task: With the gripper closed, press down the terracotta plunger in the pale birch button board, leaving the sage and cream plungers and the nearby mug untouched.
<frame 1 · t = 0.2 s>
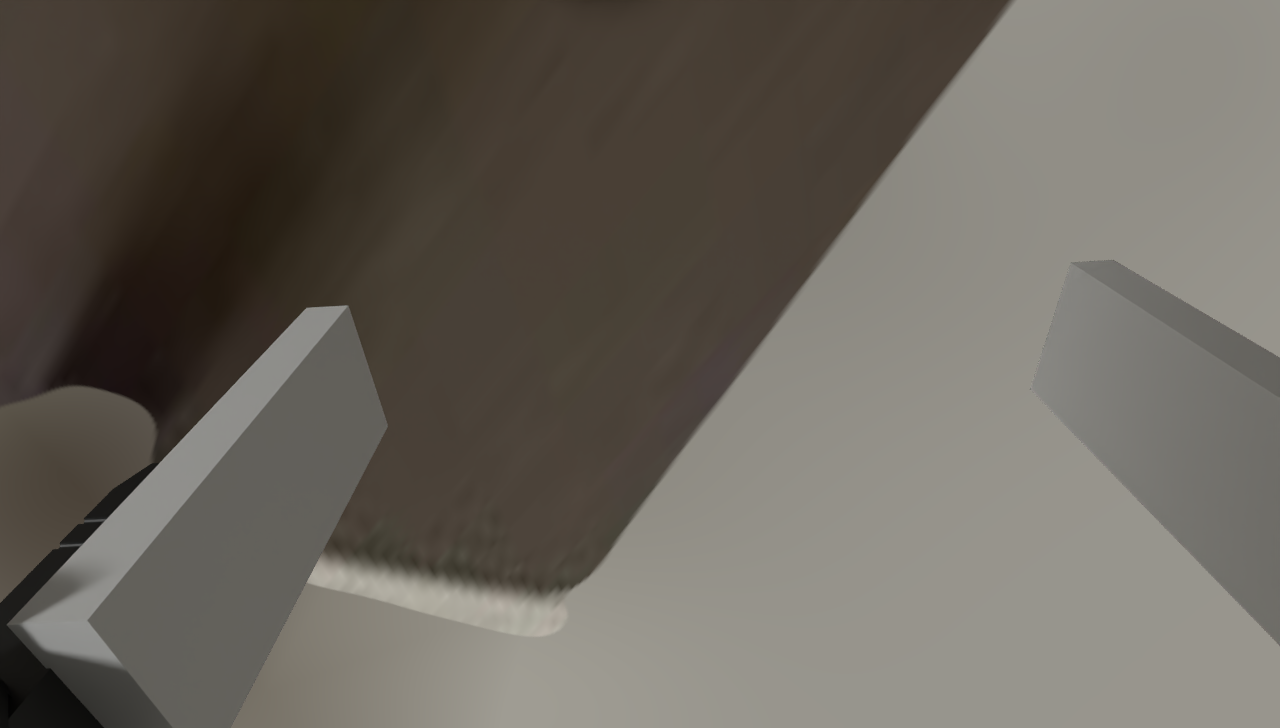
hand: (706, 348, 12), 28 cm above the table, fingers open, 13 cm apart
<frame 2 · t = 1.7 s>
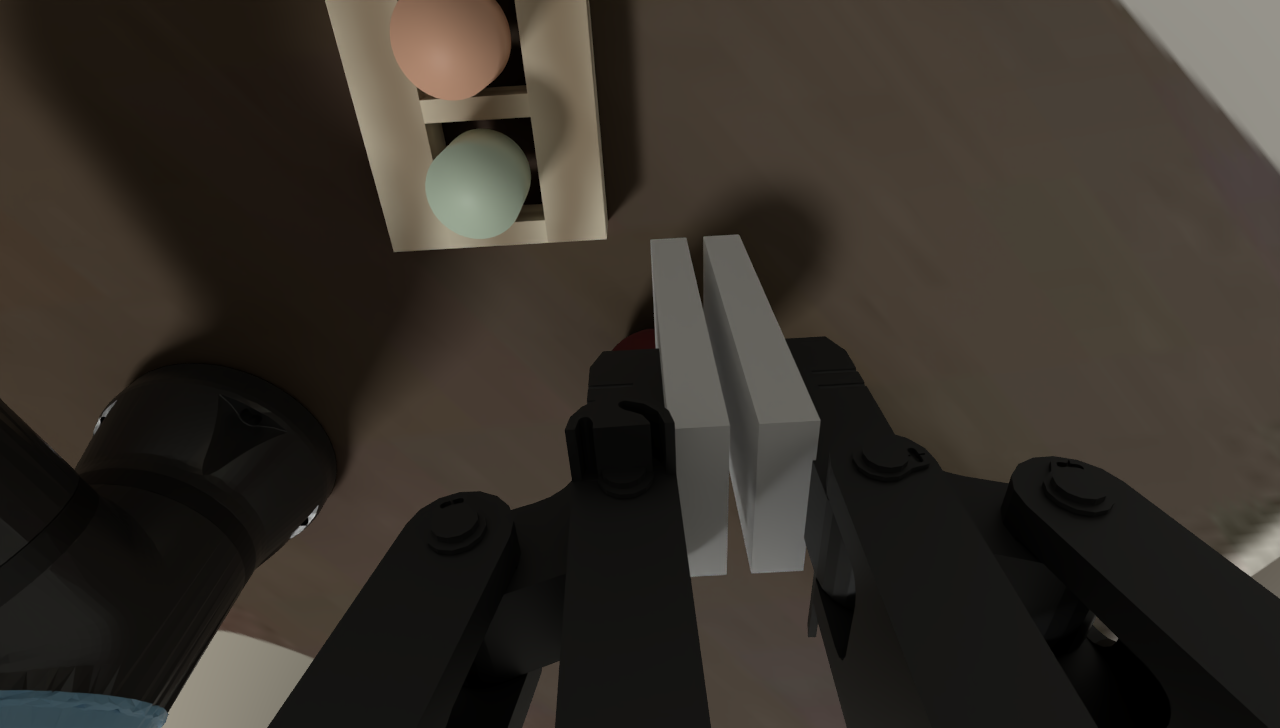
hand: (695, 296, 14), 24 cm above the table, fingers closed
mug: (662, 339, 43), on the table
button terracotta: (454, 39, 29), point 5 cm above the table, slide at 0.0 cm
button board: (475, 31, 33), on the table
button sage: (480, 183, 32), point 5 cm above the table, slide at 0.0 cm
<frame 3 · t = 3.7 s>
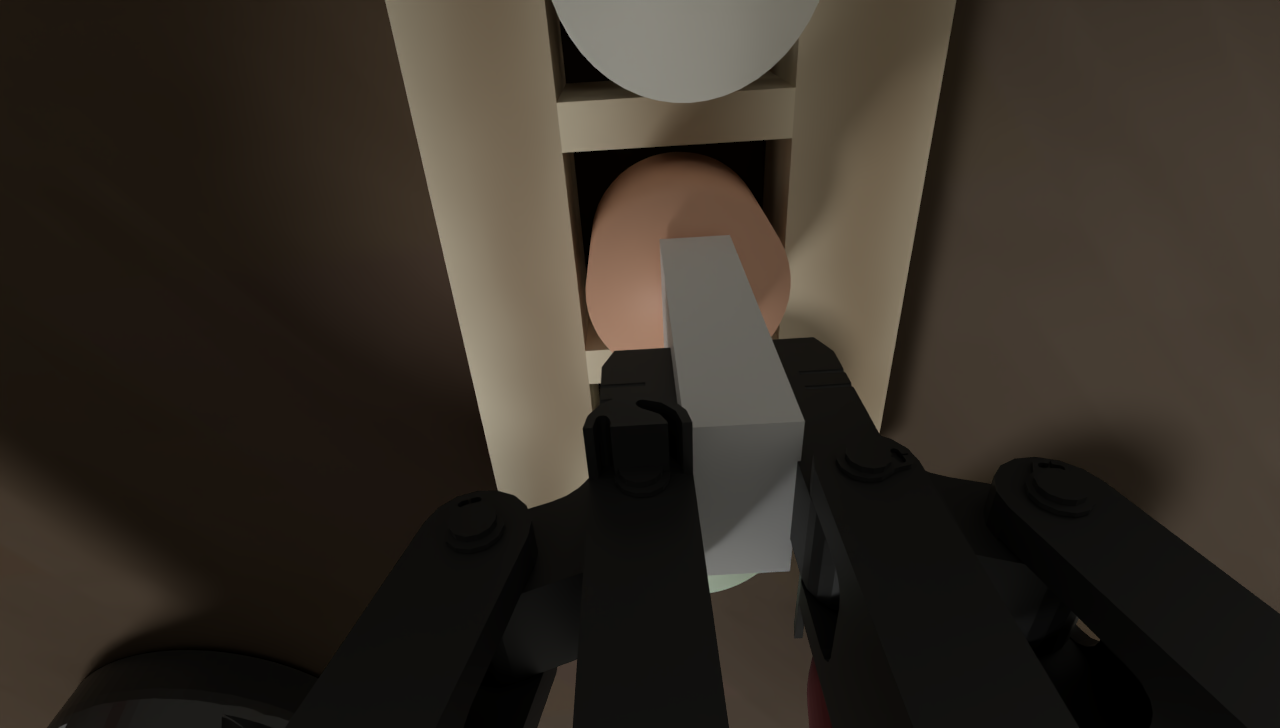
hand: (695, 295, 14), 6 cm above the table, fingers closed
mug: (881, 608, 29), on the table
button terracotta: (681, 263, 16), point 4 cm above the table, slide at 1.1 cm, touching gripper
button board: (671, 216, 19), on the table
button sage: (689, 490, 18), point 5 cm above the table, slide at 0.0 cm
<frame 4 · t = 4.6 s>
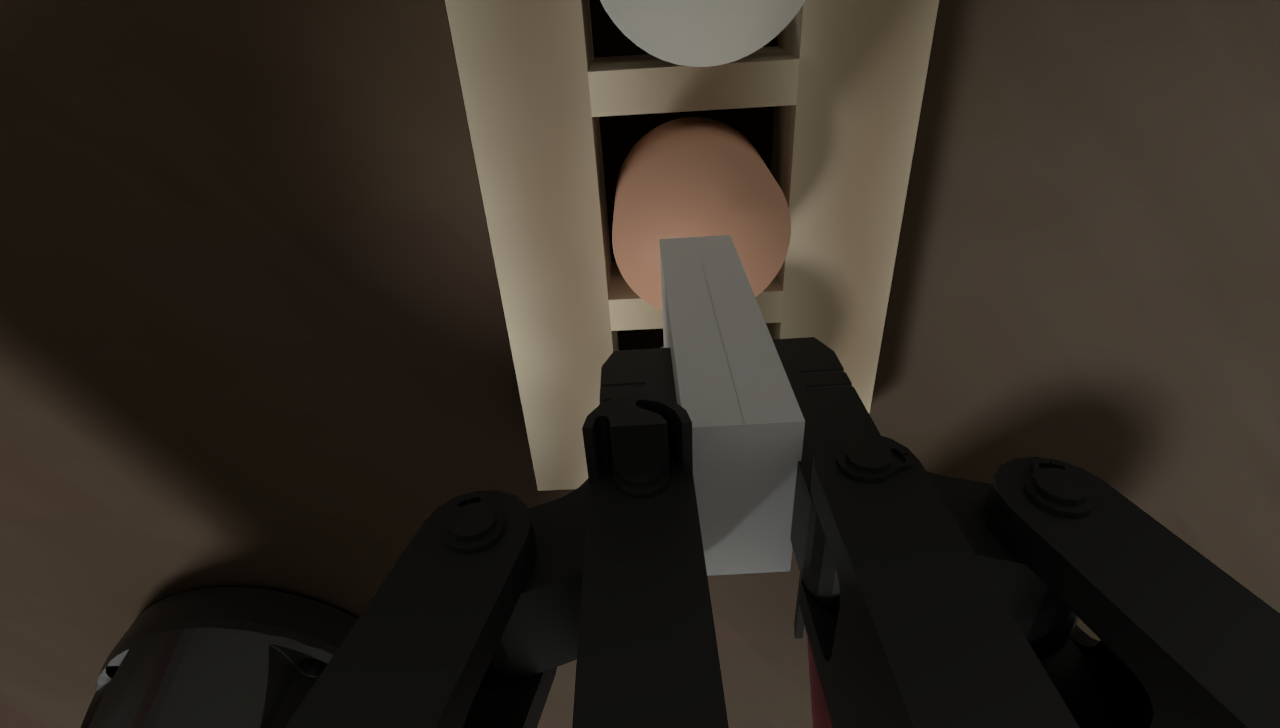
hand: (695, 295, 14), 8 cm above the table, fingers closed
mug: (879, 560, 31), on the table
button terracotta: (695, 215, 18), point 3 cm above the table, slide at 1.3 cm
button board: (687, 180, 21), on the table
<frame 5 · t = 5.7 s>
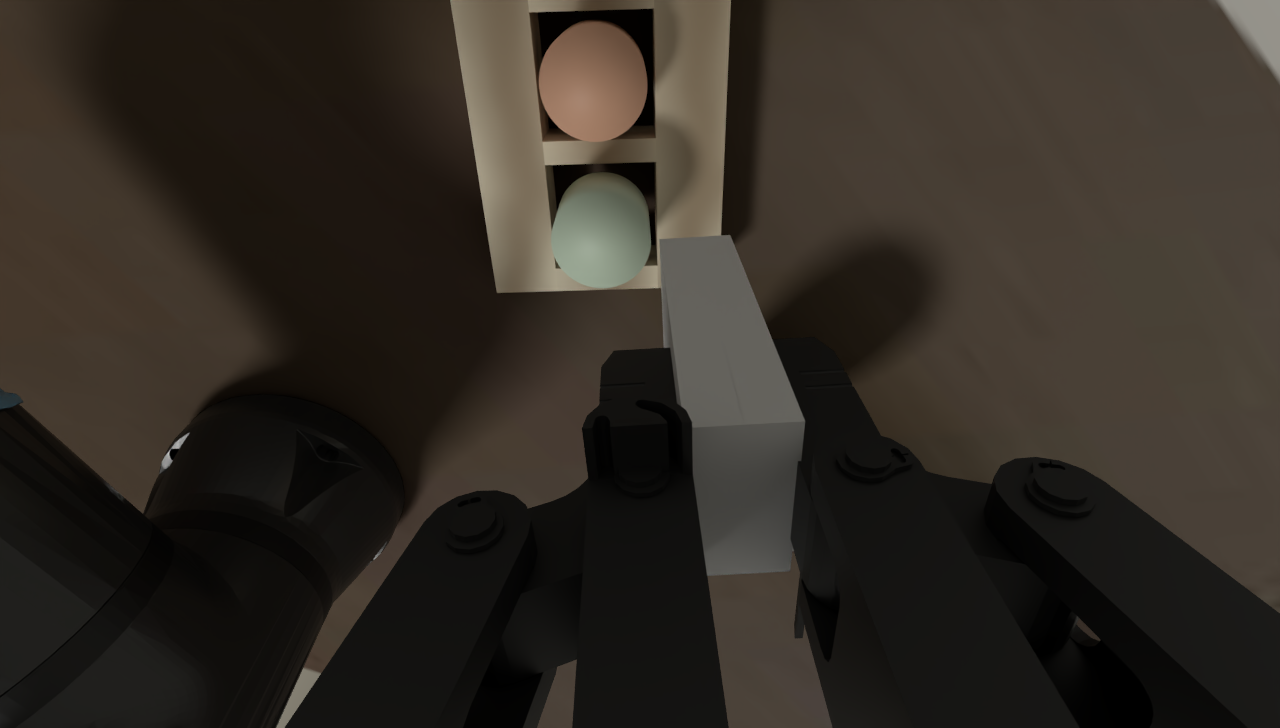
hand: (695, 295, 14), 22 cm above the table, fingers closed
button terracotta: (595, 79, 28), point 3 cm above the table, slide at 1.3 cm
button board: (598, 69, 31), on the table
button sage: (602, 229, 31), point 5 cm above the table, slide at 0.0 cm
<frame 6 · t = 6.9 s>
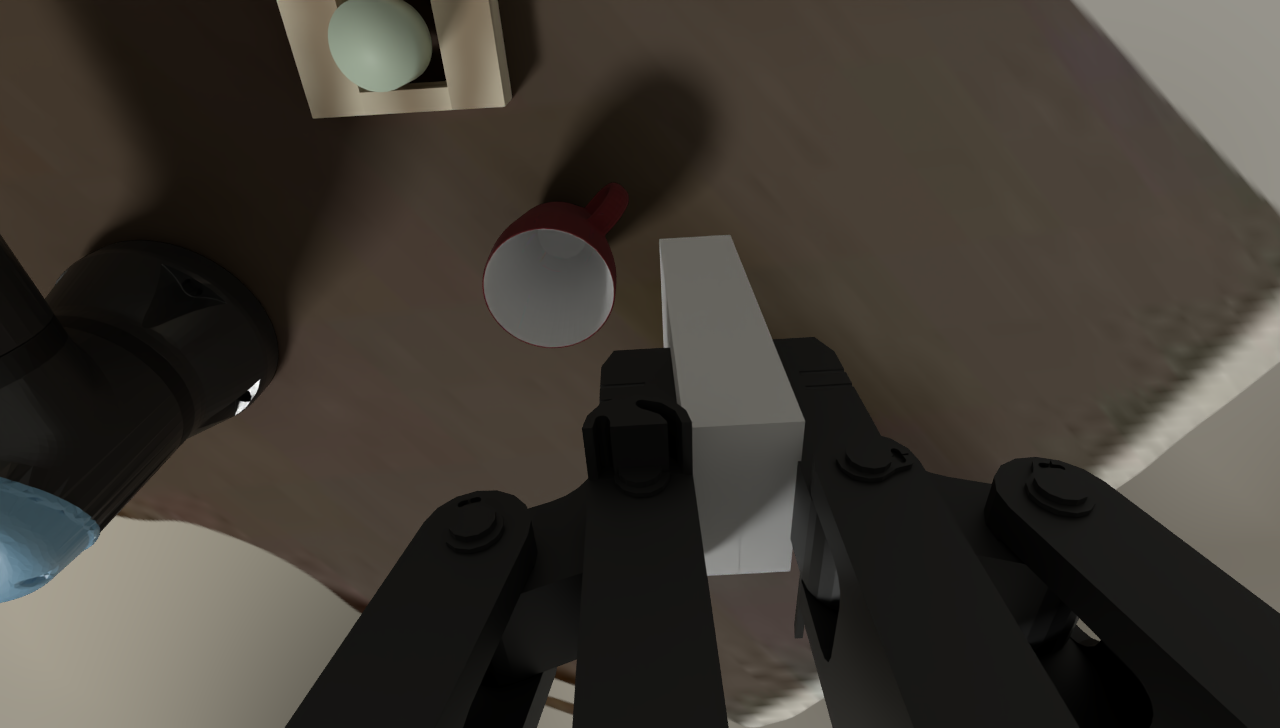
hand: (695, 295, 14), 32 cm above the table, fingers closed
mug: (572, 219, 47), on the table
button sage: (382, 43, 36), point 5 cm above the table, slide at 0.0 cm
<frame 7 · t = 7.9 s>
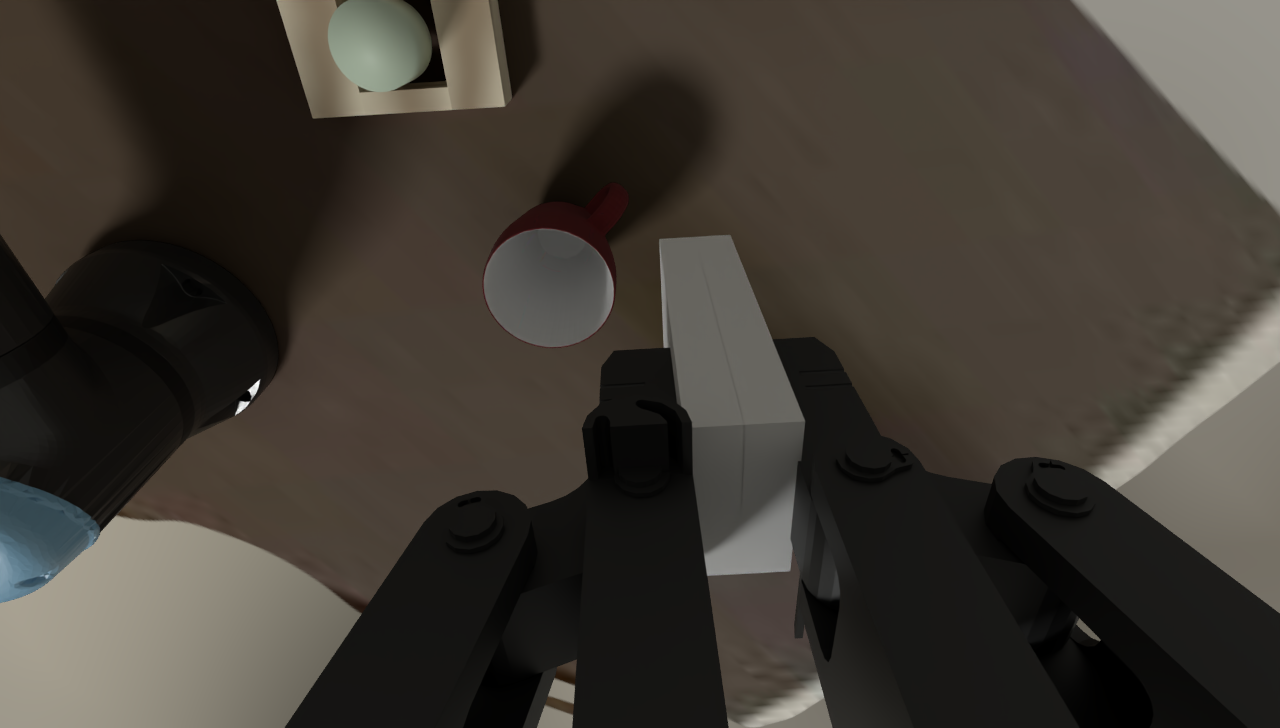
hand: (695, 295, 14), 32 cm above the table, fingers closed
mug: (572, 219, 47), on the table
button sage: (382, 43, 36), point 5 cm above the table, slide at 0.0 cm
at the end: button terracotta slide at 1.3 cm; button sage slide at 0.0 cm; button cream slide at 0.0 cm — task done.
